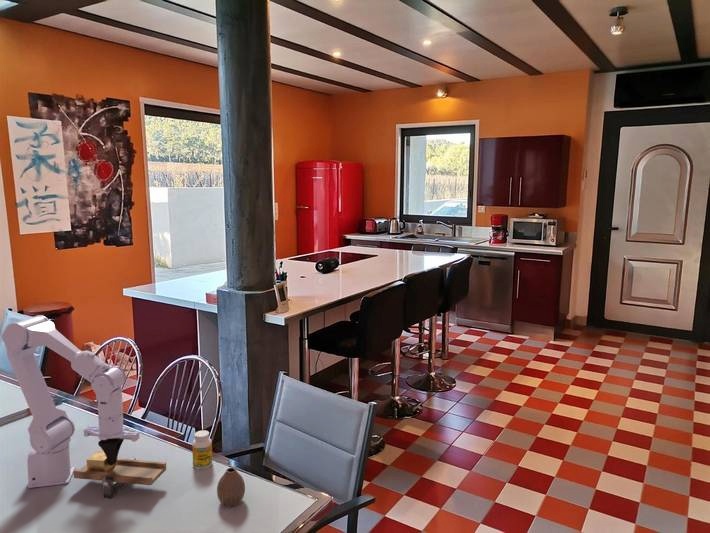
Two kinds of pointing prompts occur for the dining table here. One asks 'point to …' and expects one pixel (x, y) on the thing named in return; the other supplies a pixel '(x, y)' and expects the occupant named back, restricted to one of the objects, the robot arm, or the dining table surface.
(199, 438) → the supplement bottle
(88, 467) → the block
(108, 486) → the stand
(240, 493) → the vase
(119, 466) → the beam
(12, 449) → the dining table surface
